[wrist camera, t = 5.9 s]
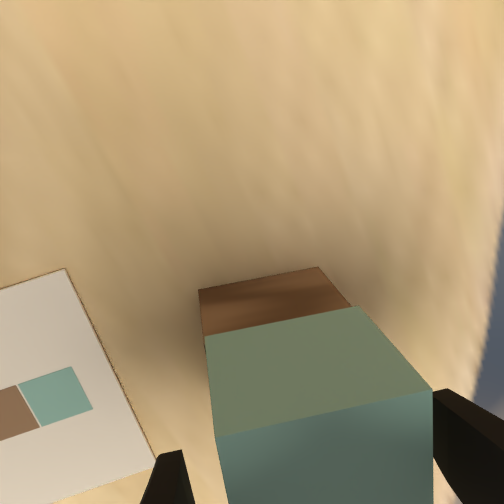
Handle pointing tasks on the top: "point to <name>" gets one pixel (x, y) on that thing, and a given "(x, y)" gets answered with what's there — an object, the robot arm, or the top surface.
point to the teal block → (319, 414)
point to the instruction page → (59, 399)
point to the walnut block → (267, 300)
